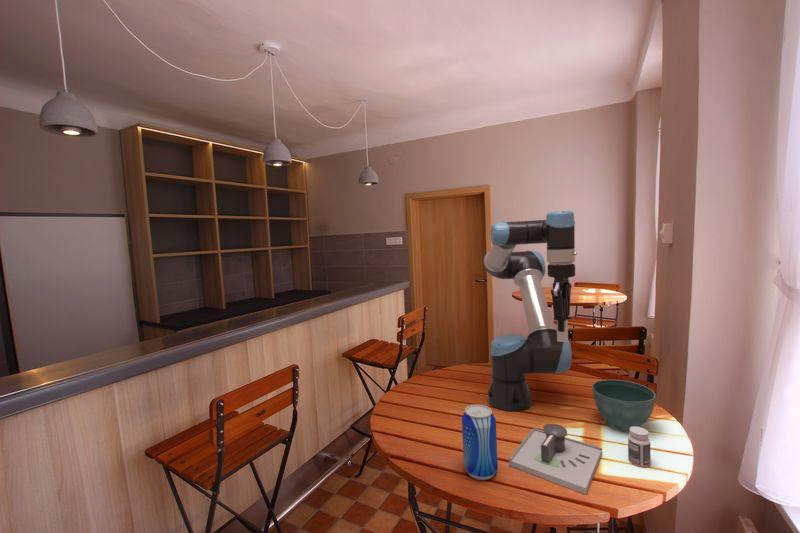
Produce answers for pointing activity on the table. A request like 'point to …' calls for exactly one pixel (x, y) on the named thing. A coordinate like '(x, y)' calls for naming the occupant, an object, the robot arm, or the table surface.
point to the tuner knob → (553, 441)
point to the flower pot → (623, 403)
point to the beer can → (479, 442)
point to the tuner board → (564, 476)
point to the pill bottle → (639, 447)
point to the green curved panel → (556, 462)
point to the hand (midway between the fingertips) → (562, 341)
